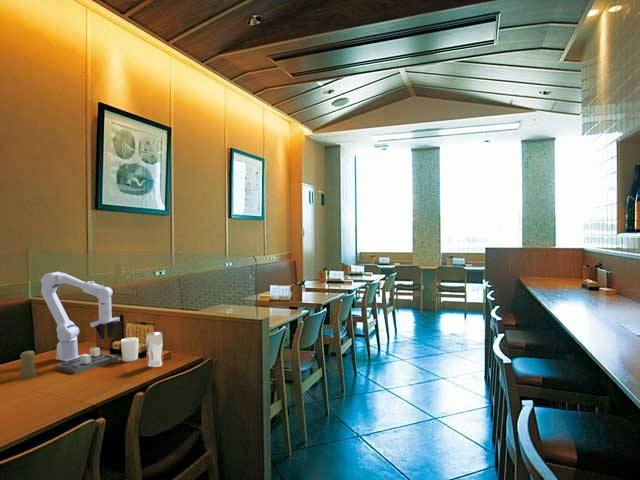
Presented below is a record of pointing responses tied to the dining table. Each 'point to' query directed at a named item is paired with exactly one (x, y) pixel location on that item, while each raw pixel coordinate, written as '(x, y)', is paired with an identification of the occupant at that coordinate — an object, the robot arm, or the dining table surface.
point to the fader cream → (94, 351)
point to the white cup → (129, 348)
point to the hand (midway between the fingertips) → (106, 338)
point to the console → (77, 366)
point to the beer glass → (154, 348)
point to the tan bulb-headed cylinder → (27, 365)
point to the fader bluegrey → (85, 358)
